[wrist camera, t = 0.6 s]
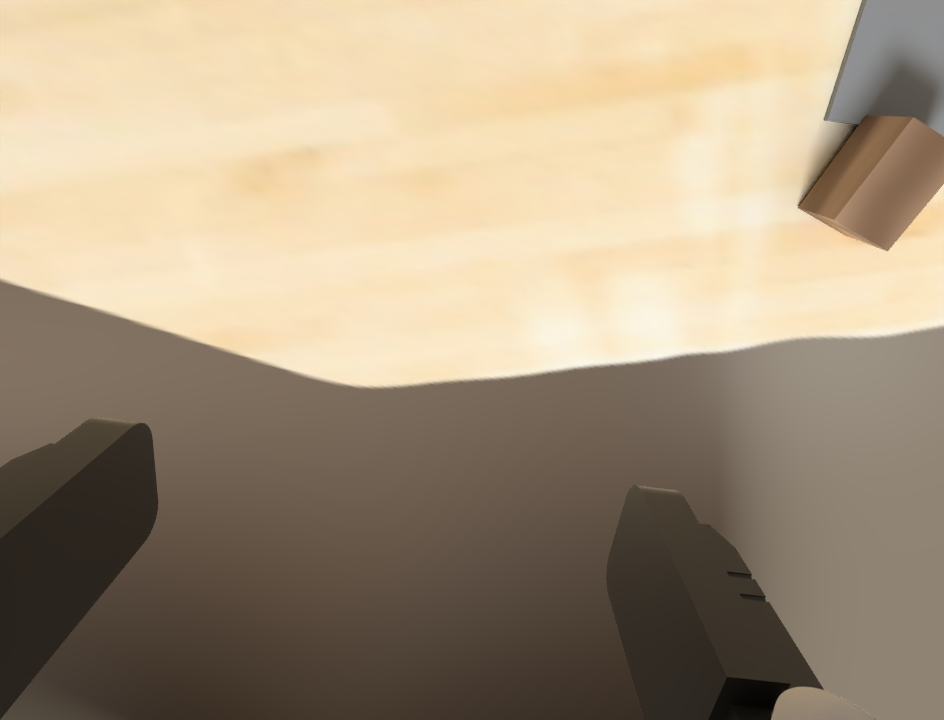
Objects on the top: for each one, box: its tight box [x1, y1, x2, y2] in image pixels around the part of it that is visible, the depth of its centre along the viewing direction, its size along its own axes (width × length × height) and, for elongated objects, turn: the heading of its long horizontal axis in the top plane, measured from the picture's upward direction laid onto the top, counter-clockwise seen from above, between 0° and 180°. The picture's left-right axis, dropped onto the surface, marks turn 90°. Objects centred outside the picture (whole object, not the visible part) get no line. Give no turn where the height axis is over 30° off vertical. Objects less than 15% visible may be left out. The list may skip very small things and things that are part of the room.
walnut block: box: [798, 115, 944, 251], centre depth 33 cm, size 4×6×4 cm, turn 153°
